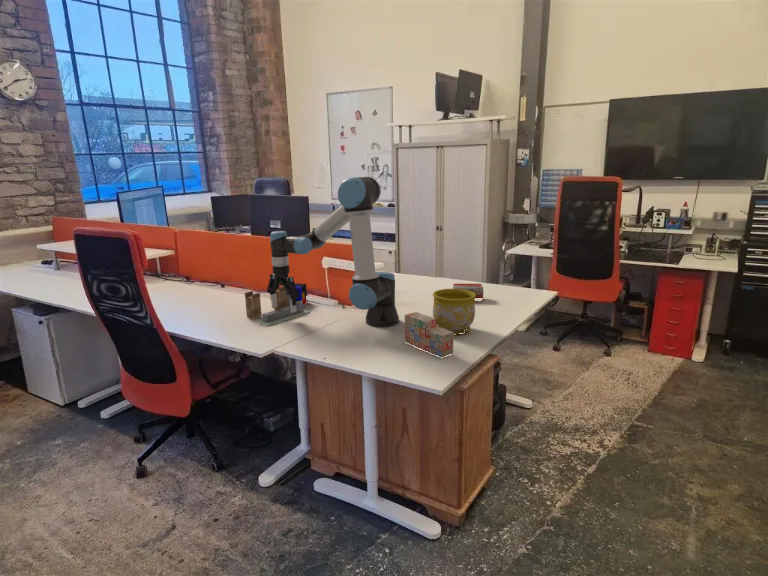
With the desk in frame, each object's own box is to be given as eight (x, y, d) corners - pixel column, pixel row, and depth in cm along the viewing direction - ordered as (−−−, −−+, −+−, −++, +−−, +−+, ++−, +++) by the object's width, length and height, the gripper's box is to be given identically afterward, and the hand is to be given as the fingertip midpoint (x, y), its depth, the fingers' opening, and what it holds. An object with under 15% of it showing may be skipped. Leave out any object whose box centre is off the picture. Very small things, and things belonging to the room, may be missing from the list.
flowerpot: (465, 340, 200) (467, 301, 196) (425, 333, 209) (425, 296, 205) (480, 327, 215) (481, 291, 211) (442, 321, 224) (442, 286, 220)
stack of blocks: (453, 355, 185) (454, 324, 182) (441, 359, 181) (441, 327, 178) (416, 340, 202) (416, 311, 199) (404, 343, 198) (404, 314, 195)
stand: (287, 309, 245) (286, 286, 242) (254, 319, 230) (252, 294, 227) (279, 307, 249) (278, 284, 246) (246, 316, 234) (244, 292, 231)
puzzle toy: (300, 307, 248) (299, 288, 246) (281, 306, 250) (280, 287, 248) (307, 302, 258) (306, 283, 255) (289, 301, 260) (288, 283, 257)
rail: (299, 310, 242) (298, 303, 241) (303, 311, 239) (303, 304, 239) (262, 321, 225) (262, 314, 224) (267, 322, 223) (266, 315, 222)
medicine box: (453, 302, 256) (454, 287, 254) (452, 297, 264) (452, 283, 262) (483, 302, 255) (483, 287, 253) (481, 298, 263) (481, 283, 261)
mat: (310, 312, 240) (310, 311, 240) (267, 326, 220) (267, 324, 220) (299, 309, 245) (299, 308, 244) (255, 322, 225) (255, 321, 225)
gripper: (305, 266, 221) (308, 312, 226) (269, 261, 237) (273, 303, 242) (292, 269, 216) (295, 316, 221) (257, 263, 231) (260, 307, 236)
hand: (283, 309), depth 231 cm, fingers open, 13 cm apart
